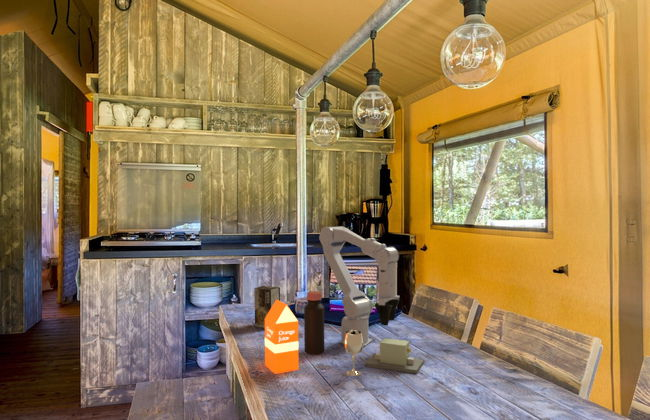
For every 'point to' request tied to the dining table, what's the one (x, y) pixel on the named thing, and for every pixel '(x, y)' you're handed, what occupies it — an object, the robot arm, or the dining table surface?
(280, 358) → the orange juice
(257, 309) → the coffee box
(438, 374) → the dining table surface
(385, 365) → the cleat board
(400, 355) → the cabinet block
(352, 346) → the wineglass
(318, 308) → the bottle
